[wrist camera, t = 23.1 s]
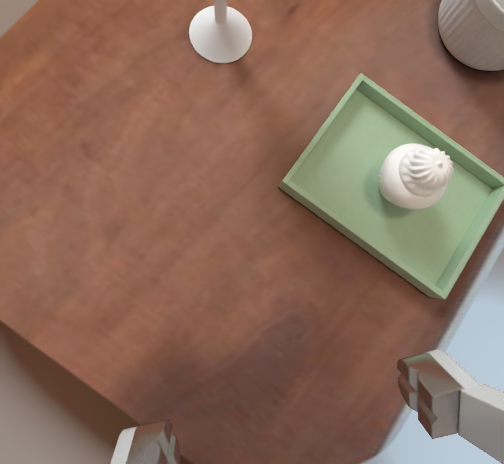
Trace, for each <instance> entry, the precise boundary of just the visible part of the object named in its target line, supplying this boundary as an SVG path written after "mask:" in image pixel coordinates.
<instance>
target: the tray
mask: <svg viewBox="0 0 504 464" xmlns="http://www.w3.org/2000/svg"><path fill="white" fill-rule="evenodd" d="M410 143H415V144H421V145H425V146H428V147H430V148H432V149H434V148H438V149H439V150H440V151H445V155H449V156H450V159H449V160H451V161H452V162H453V165H452V167H453V169H454V171H453V173H452V177H451V179H450V181H448V185H447V188H446V190H445V192H444V194H443V196H442V197H441V198H440V199H439V201H437V202H436V203H435V204H433V205H432V206H430V207H427V208H424V209H419V210H412V209H407V208H404V207H399V206H398V205H394V204H393V203H391V202H389V201H388V200H386V199H385V198H384V197H383V196H382V194H380V191H379V188H378V179H379V172H380V170H381V166H382V165H383V162H384V160H385V158H386V157H387V156H388V154H389V153H390V152H391V151H393V150H394V149H396V148H397V147H399V146H401V145H405V144H410ZM278 187H279V188H280V189H282V190H283V191H285V192H286V193H287V194H289V195H290V196H291V197H293V198H294V199H296V200H297V201H298V202H300V203H301V204H302V205H304V206H305V207H307V208H308V209H309V210H311V211H312V212H313V213H315V214H316V215H318V216H319V217H320V218H322V219H323V220H324V221H326V222H327V223H329V224H330V225H331V226H333V227H334V228H335V229H337V230H338V231H340V232H341V233H342V234H344V235H345V236H346V237H348V238H349V239H351V240H352V241H353V242H355V243H356V244H357V245H359V246H360V247H362V248H363V249H364V250H366V251H367V252H368V253H370V254H371V255H373V256H374V257H375V258H377V259H378V260H379V261H381V262H382V263H384V264H385V265H386V266H388V267H389V268H390V269H392V270H393V271H395V272H396V273H397V274H399V275H400V276H401V277H403V278H404V279H405V280H407V281H408V282H410V283H411V284H412V285H414V286H415V287H416V288H418V289H419V290H421V291H422V292H423V293H425V294H426V295H427V296H429V297H431V298H437V299H444V300H445V299H446V297H447V296H448V294H449V292H450V291H451V289H452V287H453V285H454V284H455V282H456V280H457V278H458V277H459V275H460V273H461V272H462V270H463V268H464V266H465V265H466V263H467V261H468V260H469V258H470V256H471V254H472V253H473V251H474V249H475V247H476V246H477V244H478V242H479V241H480V239H481V237H482V235H483V234H484V232H485V230H486V228H487V227H488V225H489V223H490V222H491V220H492V218H493V216H494V215H495V213H496V211H497V210H498V208H499V206H500V204H501V203H502V201H503V199H504V177H502V176H501V175H500V174H498V173H497V172H496V171H494V170H493V169H491V168H490V167H489V166H487V165H486V164H485V163H483V162H482V161H481V160H479V159H478V158H476V157H475V156H474V155H472V154H471V153H470V152H468V151H467V150H466V149H464V148H463V147H461V146H460V145H459V144H457V143H456V142H455V141H453V140H452V139H451V138H449V137H448V136H446V135H445V134H444V133H442V132H441V131H440V130H438V129H437V128H436V127H434V126H433V125H431V124H430V123H429V122H427V121H426V120H425V119H423V118H422V117H420V116H419V115H418V114H416V113H415V112H414V111H412V110H411V109H410V108H408V107H407V106H405V105H404V104H403V103H401V102H400V101H399V100H397V99H396V98H395V97H393V96H392V95H390V94H389V93H388V92H386V91H385V90H384V89H382V88H381V87H380V86H378V85H377V84H375V83H374V82H373V81H371V80H370V79H369V78H367V77H365V75H363V74H362V73H360V74H359V76H358V77H357V79H356V80H355V81H354V83H353V84H352V85H351V87H350V88H349V90H348V91H347V92H346V94H345V95H344V96H343V98H342V99H341V100H340V102H339V103H338V105H337V106H336V107H335V109H334V110H333V111H332V113H331V114H330V116H329V117H328V118H327V120H326V121H325V122H324V124H323V125H322V127H321V128H320V129H319V131H318V132H317V133H316V135H315V136H314V138H313V139H312V140H311V142H310V143H309V144H308V146H307V147H306V149H305V150H304V151H303V153H302V154H301V155H300V157H299V158H298V159H297V161H296V162H295V164H294V165H293V166H292V168H291V169H290V170H289V172H288V173H287V175H286V176H285V177H284V179H283V180H282V181H281V183H280V185H279V186H278Z"/></svg>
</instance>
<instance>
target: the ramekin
mask: <svg viewBox="0 0 504 464" xmlns="http://www.w3.org/2000/svg"><path fill="white" fill-rule="evenodd" d="M438 27H439V32H440V36H441V38H442V41H443V43H444V45H445V46H446V48H447V49H448V51H449V52H450V53H451V54H452V55H453V56H454V57H455V58H456V59H457V60H459V61H460V62H462V63H463V64H465V65H467V66H469V67H471V68H474V69H478V70H486V71H498V70H503V69H504V0H442V1H441V4H440V8H439V13H438Z"/></svg>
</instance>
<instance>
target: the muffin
mask: <svg viewBox="0 0 504 464" xmlns="http://www.w3.org/2000/svg"><path fill="white" fill-rule="evenodd" d="M449 159H450V156H449V155H445V151H440V150H439V149H438V148H434V149H432V148H430V147H428V146H425V145H421V144H415V143H410V144H405V145H401V146H399V147H397V148H396V149H394V150H393V151H391V152H390V153H389V154H388V156H387V157H386V158H385V160H384V162H383V165H382V166H381V170H380V172H379V179H378V188H379V191H380V194H382V196H383V197H384V198H385V199H386V200H388V201H389V202H391V203H393V204H394V205H398V206H399V207H404V208H407V209H412V210H419V209H424V208H427V207H430V206H432V205H433V204H435V203H436V202H437V201H439V199H440V198H441V197H442V196H443V194H444V192H445V190H446V188H447V185H448V181H450V179H451V177H452V173H453V171H454V169H453V167H452V165H453V162H452V161H451V160H449Z"/></svg>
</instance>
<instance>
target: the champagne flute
mask: <svg viewBox="0 0 504 464" xmlns="http://www.w3.org/2000/svg"><path fill="white" fill-rule="evenodd" d="M189 37H190V41H191V43H192V45H193V47H194V49H195V50H196V51H197V52H198V53H199V54H200V55H201V56H202V57H204V58H206V59H207V60H210V61H212V62H217V63H229V62H233V61H235V60H238V59H239V58H241V57H242V56H243V55H244V54H245V53H246V52H247V51H248V49H249V48H250V45H251V42H252V30H251V27H250V25H249V23H248V21H247V19H246V18H245V17H244V16H243V15H242V14H241V13H240V12H238V11H237V10H235V9H233V8H230V7H227V0H214V6H210V7H207V8H205V9H203V10H201V11H200V12H198V13H197V14H196V15H195V17H194V18H193V20H192V22H191V24H190V28H189Z"/></svg>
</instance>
